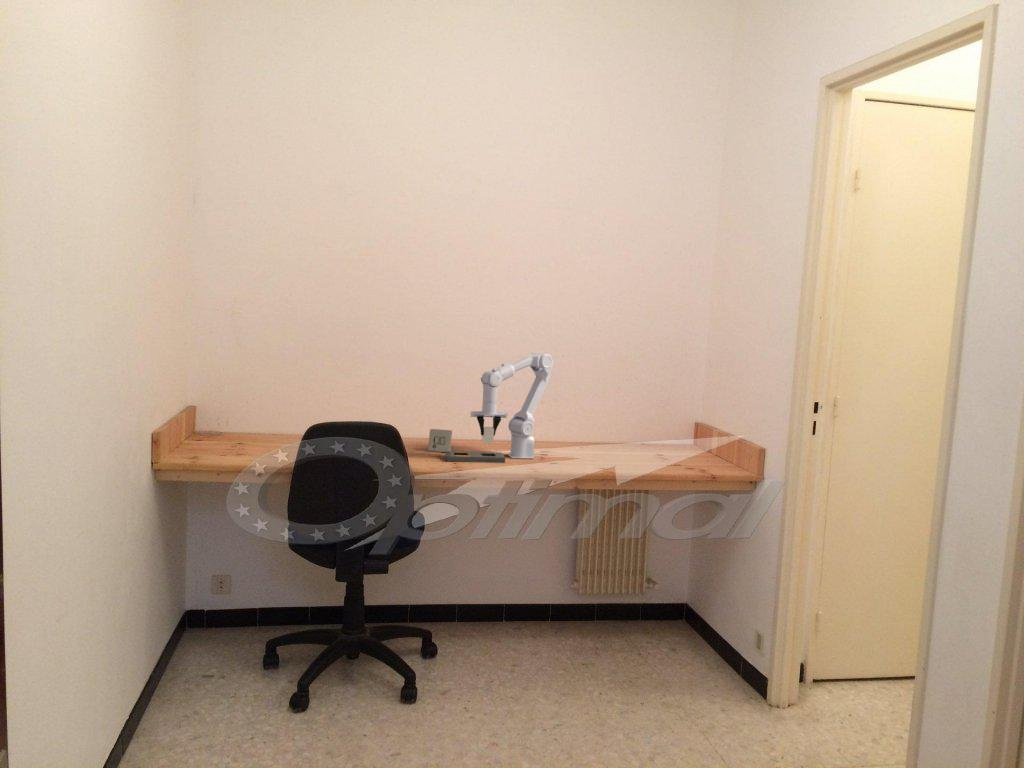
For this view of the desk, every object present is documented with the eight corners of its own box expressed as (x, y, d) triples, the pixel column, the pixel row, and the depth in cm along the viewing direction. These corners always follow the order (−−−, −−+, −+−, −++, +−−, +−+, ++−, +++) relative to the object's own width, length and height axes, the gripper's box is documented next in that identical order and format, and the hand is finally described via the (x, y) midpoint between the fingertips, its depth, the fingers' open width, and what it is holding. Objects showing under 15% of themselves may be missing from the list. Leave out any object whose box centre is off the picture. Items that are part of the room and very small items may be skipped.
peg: (491, 441, 318) (492, 426, 317) (493, 443, 314) (494, 428, 313) (481, 441, 317) (482, 426, 316) (483, 443, 313) (484, 428, 312)
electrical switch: (427, 451, 326) (429, 429, 326) (429, 450, 331) (431, 428, 331) (449, 453, 325) (451, 430, 325) (451, 452, 331) (453, 429, 330)
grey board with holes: (500, 457, 322) (501, 452, 322) (504, 462, 313) (505, 457, 312) (444, 456, 318) (444, 450, 318) (447, 461, 308) (447, 456, 308)
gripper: (505, 400, 319) (503, 433, 320) (470, 399, 316) (468, 432, 318) (509, 403, 312) (507, 437, 314) (472, 401, 309) (470, 436, 311)
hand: (487, 435), depth 315 cm, fingers closed on peg, 4 cm apart
